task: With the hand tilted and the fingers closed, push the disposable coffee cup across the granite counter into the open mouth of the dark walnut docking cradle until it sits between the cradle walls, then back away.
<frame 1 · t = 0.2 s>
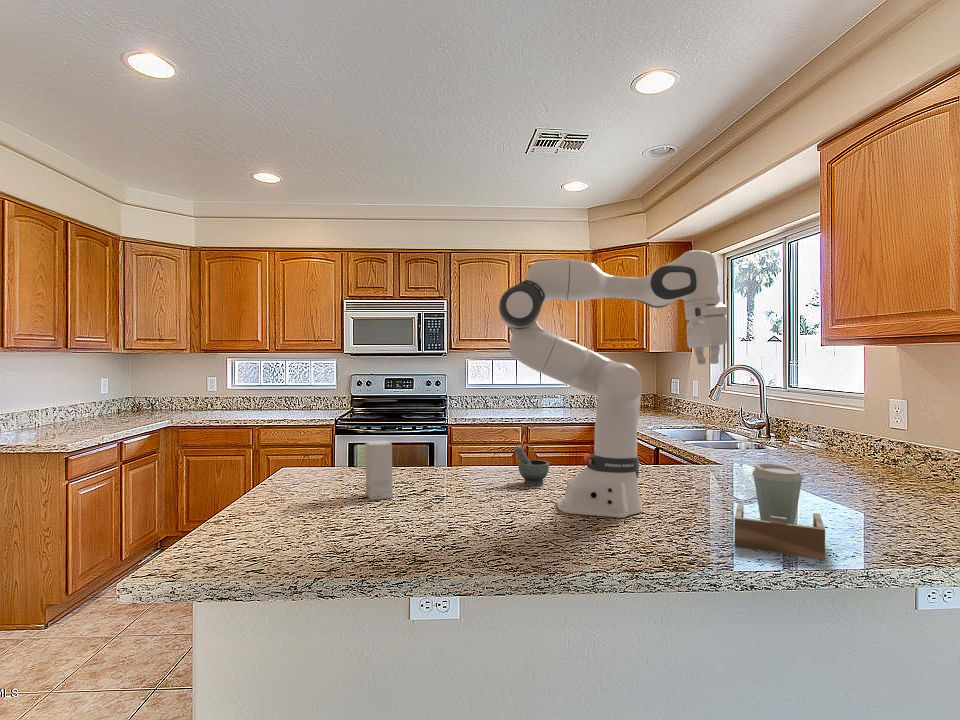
hand: (707, 364, 144), 39 cm above the countertop, tool pointing down, fingers open, 8 cm apart
dock cradle: (777, 542, 119), on the countertop
mortar and pestle: (531, 484, 174), on the countertop
skincare box: (378, 497, 157), on the countertop
disposable coffee cup: (776, 531, 128), on the countertop
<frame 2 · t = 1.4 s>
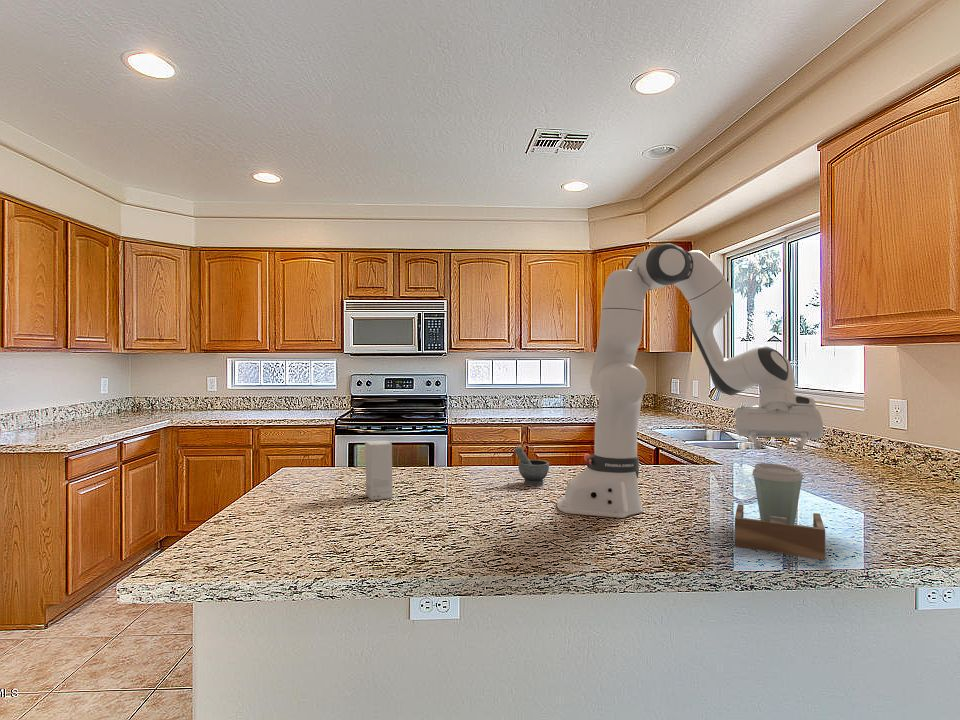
hand: (778, 448, 139), 17 cm above the countertop, tool tilted 45°, fingers open, 8 cm apart
nothing on the countertop moved.
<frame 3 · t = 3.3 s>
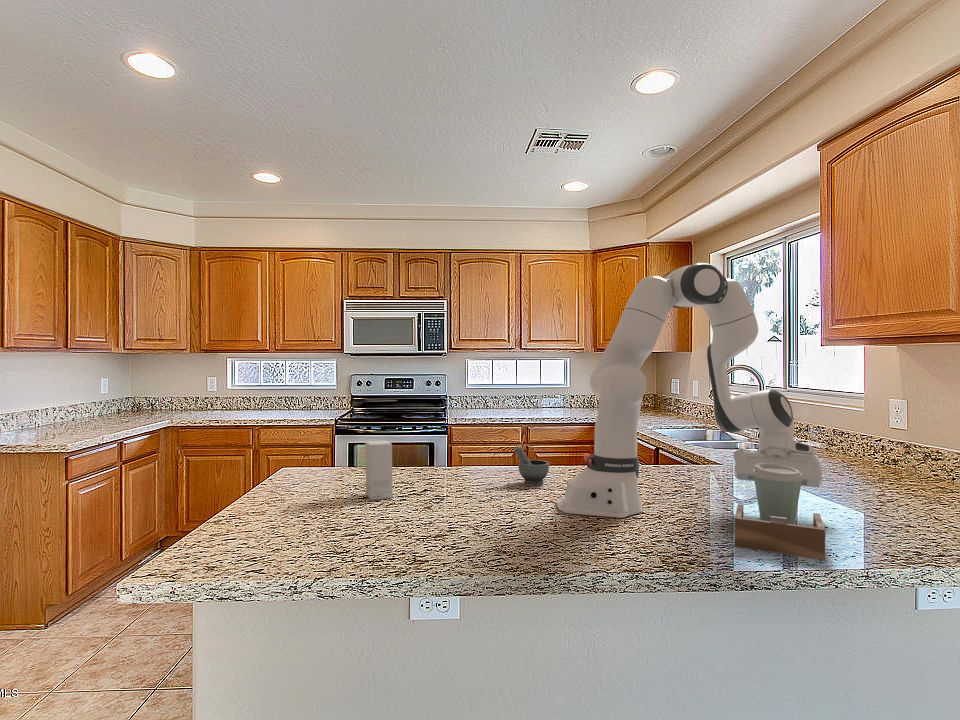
hand: (776, 495, 139), 6 cm above the countertop, tool tilted 45°, fingers closed
nothing on the countertop moved.
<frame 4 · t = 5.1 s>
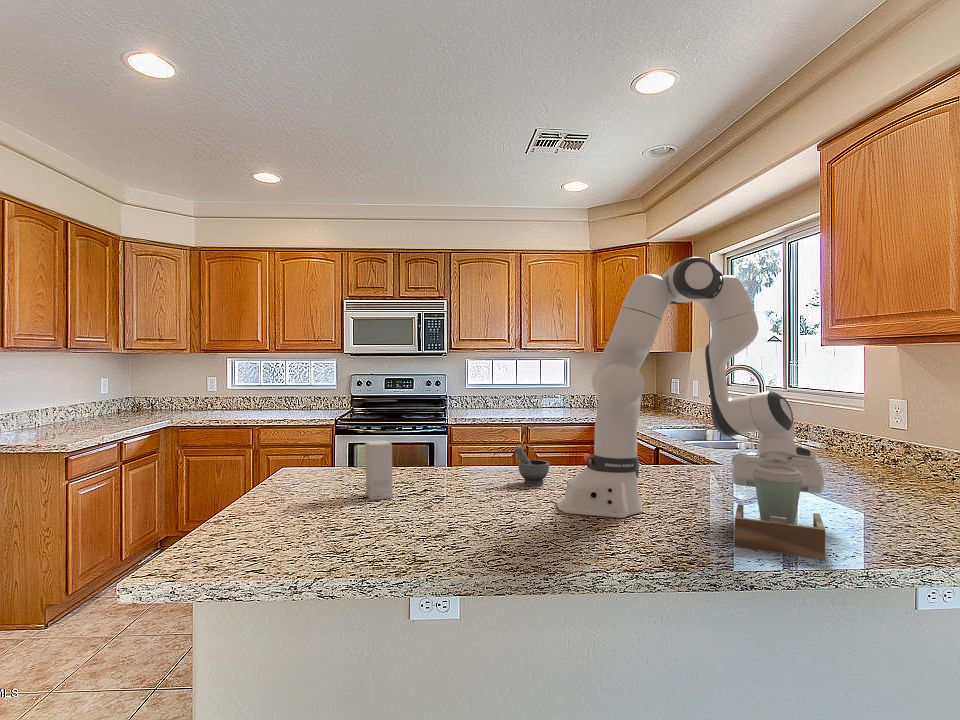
hand: (776, 502, 133), 5 cm above the countertop, tool tilted 45°, fingers closed
disposable coffee cup: (777, 531, 128), on the countertop, touching gripper
everything else where it was.
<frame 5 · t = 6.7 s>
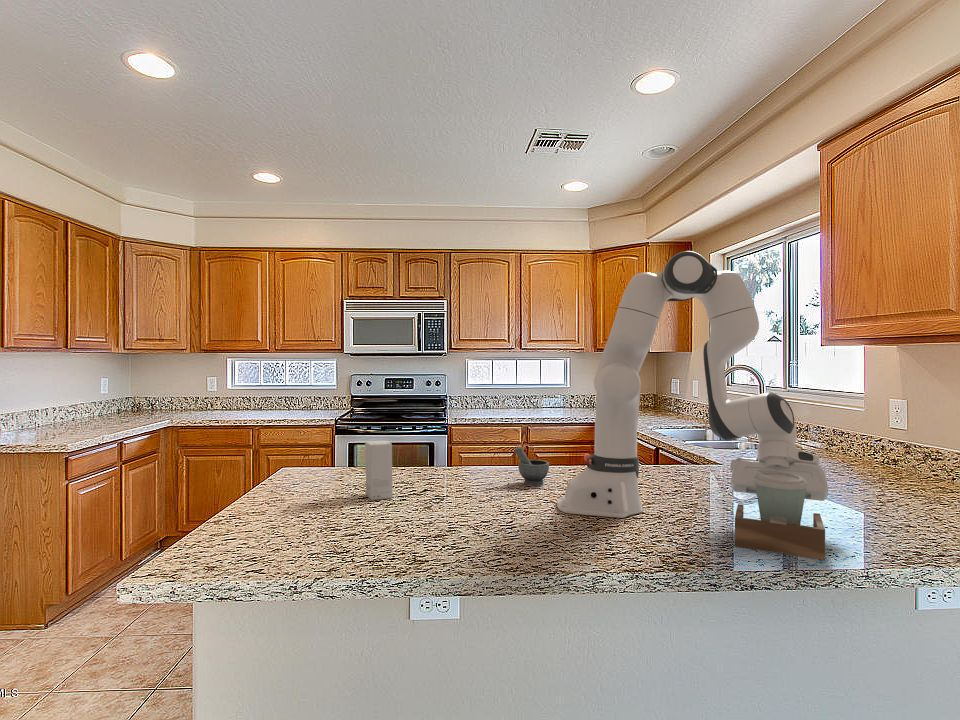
hand: (778, 510, 126), 5 cm above the countertop, tool tilted 45°, fingers closed, pressing on disposable coffee cup
disposable coffee cup: (779, 541, 120), on the countertop, touching gripper
everything else where it was.
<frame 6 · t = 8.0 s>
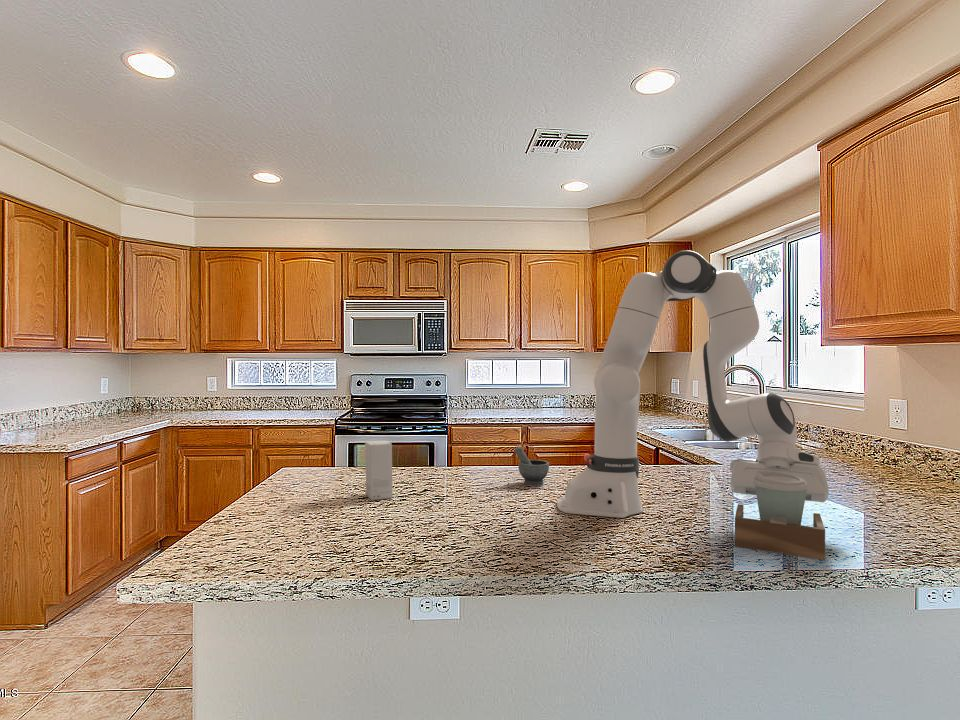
hand: (777, 511, 124), 5 cm above the countertop, tool tilted 45°, fingers closed, pressing on disposable coffee cup
disposable coffee cup: (779, 543, 119), on the countertop, touching gripper
everything else where it was.
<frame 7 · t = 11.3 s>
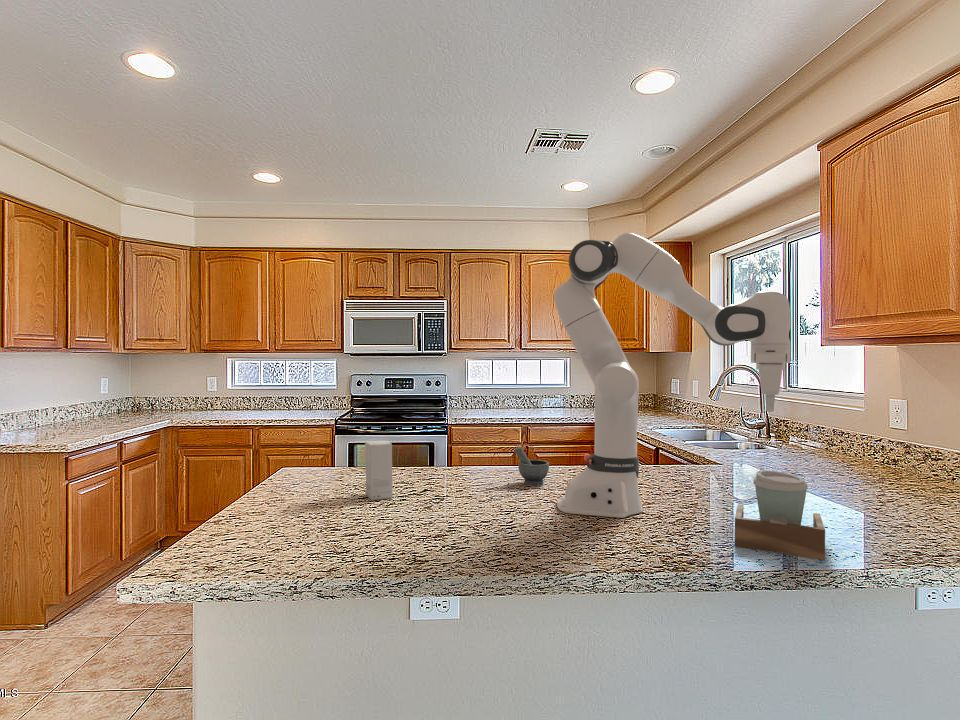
hand: (769, 411, 137), 27 cm above the countertop, tool pointing down, fingers closed
disposable coffee cup: (779, 544, 119), on the countertop
everything else where it was.
at the end: disposable coffee cup 0.4 cm from the dock cradle (horizontally); disposable coffee cup tilted 0°; disposable coffee cup moved 10.0 cm from its start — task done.
